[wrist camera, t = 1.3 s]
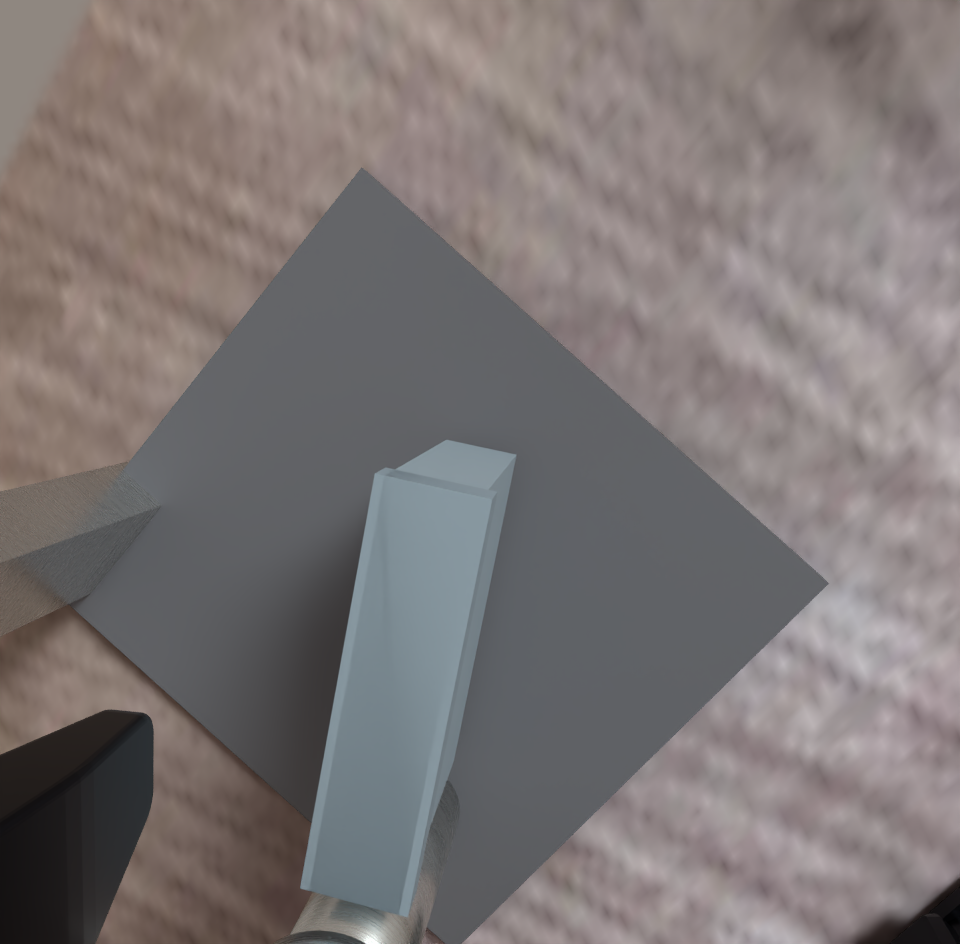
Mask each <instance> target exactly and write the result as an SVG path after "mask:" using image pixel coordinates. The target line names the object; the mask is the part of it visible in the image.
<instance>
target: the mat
mask: <svg viewBox="0 0 960 944" xmlns="http://www.w3.org/2000/svg"><path fill="white" fill-rule="evenodd" d="M445 440H450V441H455V442H460V443H464V444H469V445H474V446H478V447H483V448H488V449H493V450H497V451H502V452H507V453H511V454H516V460H515V465H514V470H513V475H512V480H511V485H510V489H509V494H508V499H507V504H506V509H505V514H504V519H503V524H502V529H501V533H500V538H499V543H498V548H497V553H496V558H495V563H494V568H493V572H492V577H491V582H490V587H489V592H488V597H487V602H486V607H485V611H484V616H483V621H482V626H481V631H480V636H479V641H478V646H477V650H476V655H475V660H474V665H473V670H472V675H471V680H470V685H469V689H468V694H467V699H466V704H465V709H464V714H463V719H462V724H461V729H460V733H459V738H458V743H457V748H456V753H455V758H454V762H453V765H452V767H451V770H450V773H449V776H448V780H449V781H450V783H451V784H452V786H453V787H454V789H455V791H456V793H457V796H458V799H459V805H460V816H459V821H458V825H457V828H456V832H455V835H454V838H453V842H452V845H451V848H450V852H449V855H448V858H447V861H446V865H445V868H444V871H443V875H442V878H441V881H440V885H439V888H438V891H437V895H436V898H435V901H434V905H433V908H432V911H431V914H430V918H429V921H428V924H427V928H428V929H430V930H431V931H432V932H433V933H434V934H435V935H436V936H437V937H438V938H439V939H441V940H442V941H443V942H444V943H445V944H461V943H462V942H463V941H464V940H466V939H467V938H468V937H469V936H470V935H471V934H472V933H473V932H474V931H475V930H476V929H477V928H478V927H479V926H480V925H481V924H482V923H483V922H484V921H485V920H486V919H487V918H488V917H489V916H490V915H491V914H492V913H493V912H494V911H495V910H496V909H497V908H498V907H499V906H500V905H501V904H502V903H503V902H504V901H505V900H506V899H507V898H508V897H509V896H510V895H511V894H512V893H513V892H514V891H516V890H517V889H518V888H519V887H520V886H521V885H522V884H523V883H524V882H525V881H526V880H527V879H528V878H529V877H530V876H531V875H532V874H533V873H534V872H535V871H536V870H537V869H538V868H539V867H540V866H541V865H542V864H543V863H544V862H545V861H546V860H547V859H548V858H549V857H550V856H551V855H552V854H553V853H554V852H555V851H556V850H557V849H558V848H559V847H560V846H561V845H562V844H563V843H564V842H566V841H567V840H568V839H569V838H570V837H571V836H572V835H573V834H574V833H575V832H576V831H577V830H578V829H579V828H580V827H581V826H582V825H583V824H584V823H585V822H586V821H587V820H588V819H589V818H590V817H591V816H592V815H593V814H594V813H595V812H596V811H597V810H598V809H599V808H600V807H601V806H602V805H603V804H604V803H605V802H606V801H607V800H608V799H609V798H610V797H611V796H612V795H613V794H614V793H616V792H617V791H618V790H619V789H620V788H621V787H622V786H623V785H624V784H625V783H626V782H627V781H628V780H629V779H630V778H631V777H632V776H633V775H634V774H635V773H636V772H637V771H638V770H639V769H640V768H641V767H642V766H643V765H644V764H645V763H646V762H647V761H648V760H649V759H650V758H651V757H652V756H653V755H654V754H655V753H656V752H657V751H658V750H659V749H660V748H661V747H662V746H663V745H664V744H665V743H667V742H668V741H669V740H670V739H671V738H672V737H673V736H674V735H675V734H676V733H677V732H678V731H679V730H680V729H681V728H682V727H683V726H684V725H685V724H686V723H687V722H688V721H689V720H690V719H691V718H692V717H693V716H694V715H695V714H696V713H697V712H698V711H699V710H700V709H701V708H702V707H703V706H704V705H705V704H706V703H707V702H708V701H709V700H710V699H711V698H712V697H713V696H714V695H715V694H717V693H718V692H719V691H720V690H721V689H722V688H723V687H724V686H725V685H726V684H727V683H728V682H729V681H730V680H731V679H732V678H733V677H734V676H735V675H736V674H737V673H738V672H739V671H740V670H741V669H742V668H743V667H744V666H745V665H746V664H747V663H748V662H749V661H750V660H751V659H752V658H753V657H754V656H755V655H756V654H757V653H758V652H759V651H760V650H761V649H762V648H763V647H764V646H765V645H767V644H768V643H769V642H770V641H771V640H772V639H773V638H774V637H775V636H776V635H777V634H778V633H779V632H780V631H781V630H782V629H783V628H784V627H785V626H786V625H787V624H788V623H789V622H790V621H791V620H792V619H793V618H794V617H795V616H796V615H797V614H798V613H799V612H800V611H801V610H802V609H803V608H804V607H805V606H806V605H807V604H808V603H809V602H810V601H811V600H812V599H813V598H814V597H815V596H816V595H818V594H819V593H820V592H821V591H822V590H823V589H824V588H825V587H826V586H827V585H828V584H829V583H828V582H827V581H826V580H825V579H824V578H823V577H822V576H821V575H820V574H818V573H817V572H816V571H815V570H814V569H813V568H812V567H811V566H809V565H808V564H807V563H806V562H805V561H804V560H803V559H802V558H800V557H799V556H798V555H797V554H796V553H795V552H794V551H793V550H791V549H790V548H789V547H788V546H787V545H786V544H785V543H784V542H782V541H781V540H780V539H779V538H778V537H777V536H776V535H775V534H773V533H772V532H771V531H770V530H769V529H768V528H767V527H766V526H764V525H763V524H762V523H761V522H760V521H759V520H758V519H757V518H756V517H754V516H753V515H752V514H751V513H750V512H749V511H748V510H747V509H745V508H744V507H743V506H742V505H741V504H740V503H739V502H738V501H736V500H735V499H734V498H733V497H732V496H731V495H730V494H729V493H727V492H726V491H725V490H724V489H723V488H722V487H721V486H720V485H718V484H717V483H716V482H715V481H714V480H713V479H712V478H711V477H709V476H708V475H707V474H706V473H705V472H704V471H703V470H702V469H700V468H699V467H698V466H697V465H696V464H695V463H694V462H693V461H691V460H690V459H689V458H688V457H687V456H686V455H685V454H684V453H683V452H681V451H680V450H679V449H678V448H677V447H676V446H675V445H674V444H672V443H671V442H670V441H669V440H668V439H667V438H666V437H665V436H663V435H662V434H661V433H660V432H659V431H658V430H657V429H656V428H654V427H653V426H652V425H651V424H650V423H649V422H648V421H647V420H645V419H644V418H643V417H642V416H641V415H640V414H639V413H638V412H636V411H635V410H634V409H633V408H632V407H631V406H630V405H629V404H627V403H626V402H625V401H624V400H623V399H622V398H621V397H620V396H618V395H617V394H616V393H615V392H614V391H613V390H612V389H611V388H610V387H608V386H607V385H606V384H605V383H604V382H603V381H602V380H601V379H599V378H598V377H597V376H596V375H595V374H594V373H593V372H592V371H590V370H589V369H588V368H587V367H586V366H585V365H584V364H583V363H581V362H580V361H579V360H578V359H577V358H576V357H575V356H574V355H572V354H571V353H570V352H569V351H568V350H567V349H566V348H565V347H563V346H562V345H561V344H560V343H559V342H558V341H557V340H556V339H554V338H553V337H552V336H551V335H550V334H549V333H548V332H547V331H545V330H544V329H543V328H542V327H541V326H540V325H539V324H538V323H537V322H535V321H534V320H533V319H532V318H531V317H530V316H529V315H528V314H526V313H525V312H524V311H523V310H522V309H521V308H520V307H519V306H517V305H516V304H515V303H514V302H513V301H512V300H511V299H510V298H508V297H507V296H506V295H505V294H504V293H503V292H502V291H501V290H499V289H498V288H497V287H496V286H495V285H494V284H493V283H492V282H490V281H489V280H488V279H487V278H486V277H485V276H484V275H483V274H481V273H480V272H479V271H478V270H477V269H476V268H475V267H474V266H473V265H471V264H470V263H469V262H468V261H467V260H466V259H465V258H464V257H462V256H461V255H460V254H459V253H458V252H457V251H456V250H455V249H453V248H452V247H451V246H450V245H449V244H448V243H447V242H446V241H444V240H443V239H442V238H441V237H440V236H439V235H438V234H437V233H435V232H434V231H433V230H432V229H431V228H430V227H429V226H428V225H426V224H425V223H424V222H423V221H422V220H421V219H420V218H419V217H417V216H416V215H415V214H414V213H413V212H412V211H411V210H410V209H408V208H407V207H406V206H405V205H404V204H403V203H402V202H401V201H400V200H398V199H397V198H396V197H395V196H394V195H393V194H392V193H391V192H389V191H388V190H387V189H386V188H385V187H384V186H383V185H382V184H380V183H379V182H378V181H377V180H376V179H375V178H374V177H373V176H371V175H370V174H369V173H368V172H367V171H365V170H364V169H363V168H361V169H360V170H359V172H358V173H357V174H356V175H355V177H354V178H353V179H352V180H351V182H350V183H349V184H348V186H347V187H346V188H345V189H344V191H343V192H342V193H341V194H340V196H339V197H338V198H337V199H336V201H335V202H334V203H333V205H332V206H331V207H330V208H329V210H328V211H327V212H326V213H325V215H324V216H323V217H322V218H321V220H320V221H319V222H318V224H317V225H316V226H315V227H314V229H313V230H312V231H311V232H310V234H309V235H308V236H307V237H306V239H305V240H304V241H303V243H302V244H301V245H300V246H299V248H298V249H297V250H296V251H295V253H294V254H293V255H292V257H291V258H290V259H289V260H288V262H287V263H286V264H285V265H284V267H283V268H282V269H281V270H280V272H279V273H278V274H277V276H276V277H275V278H274V279H273V281H272V282H271V283H270V284H269V286H268V287H267V288H266V289H265V291H264V292H263V293H262V295H261V296H260V297H259V298H258V300H257V301H256V302H255V303H254V305H253V306H252V307H251V308H250V310H249V311H248V312H247V314H246V315H245V316H244V317H243V319H242V320H241V321H240V322H239V324H238V325H237V326H236V327H235V329H234V330H233V331H232V333H231V334H230V335H229V336H228V338H227V339H226V340H225V341H224V343H223V344H222V345H221V346H220V348H219V349H218V350H217V352H216V353H215V354H214V355H213V357H212V358H211V359H210V360H209V362H208V363H207V364H206V365H205V367H204V368H203V369H202V371H201V372H200V373H199V374H198V376H197V377H196V378H195V379H194V381H193V382H192V383H191V385H190V386H189V387H188V388H187V390H186V391H185V392H184V393H183V395H182V396H181V397H180V398H179V400H178V401H177V402H176V404H175V405H174V406H173V407H172V409H171V410H170V411H169V412H168V414H167V415H166V416H165V417H164V419H163V420H162V421H161V423H160V424H159V425H158V426H157V428H156V429H155V430H154V431H153V433H152V434H151V435H150V436H149V438H148V439H147V440H146V442H145V443H144V444H143V445H142V447H141V448H140V449H139V450H138V452H137V453H136V454H135V455H134V457H133V458H132V459H131V461H130V462H129V463H128V464H127V466H126V467H125V468H124V469H123V471H124V472H125V473H126V474H128V475H129V476H130V477H131V478H132V479H133V480H134V481H135V482H136V483H138V484H139V485H140V486H141V487H142V488H143V489H144V490H145V491H146V492H148V493H149V494H150V495H151V496H152V497H153V498H154V499H155V500H157V501H158V502H159V503H160V504H161V505H162V506H161V508H160V509H159V510H158V511H157V513H156V514H155V515H154V516H153V518H152V519H151V520H150V521H149V523H148V524H147V525H146V526H145V527H144V529H143V530H142V531H141V532H140V534H139V535H138V536H137V537H136V539H135V540H134V541H133V542H132V544H131V545H130V546H129V547H128V549H127V550H126V551H125V552H124V553H123V555H122V556H121V557H120V558H119V560H118V561H117V562H116V563H115V565H114V566H113V567H112V568H111V570H110V571H109V572H108V573H107V574H106V576H105V577H104V578H103V579H102V581H101V582H100V583H99V584H98V586H97V587H96V588H95V589H94V591H93V592H92V593H91V594H89V595H87V596H85V597H83V598H80V599H78V600H76V601H74V602H72V603H70V604H69V605H70V606H71V607H72V608H73V609H74V610H75V611H77V612H78V613H79V614H80V615H81V616H82V617H83V618H84V619H85V620H87V621H88V622H89V623H90V624H91V625H92V626H93V627H94V628H95V629H96V630H98V631H99V632H100V633H101V634H102V635H103V636H104V637H105V638H106V639H108V640H109V641H110V642H111V643H112V644H113V645H114V646H115V647H116V648H118V649H119V650H120V651H121V652H122V653H123V654H124V655H125V656H126V657H128V658H129V659H130V660H131V661H132V662H133V663H134V664H135V665H136V666H138V667H139V668H140V669H141V670H142V671H143V672H144V673H145V674H146V675H148V676H149V677H150V678H151V679H152V680H153V681H154V682H155V683H156V684H158V685H159V686H160V687H161V688H162V689H163V690H164V691H165V692H166V693H168V694H169V695H170V696H171V697H172V698H173V699H174V700H175V701H176V702H178V703H179V704H180V705H181V706H182V707H183V708H184V709H185V710H186V711H188V712H189V713H190V714H191V715H192V716H193V717H194V718H195V719H196V720H198V721H199V722H200V723H201V724H202V725H203V726H204V727H205V728H206V729H207V730H209V731H210V732H211V733H212V734H213V735H214V736H215V737H216V738H217V739H219V740H220V741H221V742H222V743H223V744H224V745H225V746H226V747H227V748H229V749H230V750H231V751H232V752H233V753H234V754H235V755H236V756H237V757H239V758H240V759H241V760H242V761H243V762H244V763H245V764H246V765H247V766H249V767H250V768H251V769H252V770H253V771H254V772H255V773H256V774H257V775H259V776H260V777H261V778H262V779H263V780H264V781H265V782H266V783H267V784H269V785H270V786H271V787H272V788H273V789H274V790H275V791H276V792H277V793H279V794H280V795H281V796H282V797H283V798H284V799H285V800H286V801H287V802H289V803H290V804H291V805H292V806H293V807H294V808H295V809H296V810H297V811H299V812H300V813H301V814H302V815H303V816H304V817H305V818H306V819H307V820H309V821H310V822H311V823H312V819H313V813H314V808H315V802H316V797H317V791H318V786H319V780H320V775H321V769H322V764H323V758H324V752H325V747H326V741H327V736H328V730H329V725H330V719H331V714H332V708H333V703H334V697H335V691H336V686H337V680H338V675H339V669H340V664H341V658H342V653H343V647H344V641H345V636H346V630H347V625H348V619H349V614H350V608H351V603H352V597H353V592H354V586H355V580H356V575H357V569H358V564H359V558H360V553H361V547H362V542H363V536H364V531H365V525H366V519H367V514H368V508H369V503H370V497H371V492H372V486H373V481H374V475H375V473H377V472H378V471H380V470H382V469H384V468H390V469H397V468H398V467H400V466H402V465H404V464H405V463H407V462H409V461H411V460H412V459H414V458H416V457H417V456H419V455H421V454H423V453H424V452H426V451H428V450H430V449H431V448H433V447H435V446H436V445H438V444H440V443H442V442H443V441H445Z"/></svg>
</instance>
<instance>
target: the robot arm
mask: <svg viewBox="0 0 960 944" xmlns="http://www.w3.org/2000/svg"><path fill="white" fill-rule="evenodd" d="M152 797H153V724H152V721H151V719H150V717H149V716H148V715H147V714H144V713H139V712H130V711H120V710H104V711H102V712H99V713H97V714H95V715H92V716H90V717H88V718H85V719H83V720H81V721H78V722H76V723H74V724H71V725H69V726H67V727H64V728H62V729H60V730H57V731H55V732H53V733H50V734H48V735H46V736H43V737H41V738H39V739H36V740H34V741H32V742H29V743H27V744H25V745H22V746H20V747H18V748H15V749H13V750H11V751H8V752H6V753H4V754H1V755H0V944H95V943H96V941H97V938H98V936H99V933H100V931H101V929H102V926H103V924H104V921H105V919H106V917H107V914H108V912H109V909H110V907H111V905H112V902H113V900H114V897H115V895H116V893H117V890H118V888H119V885H120V883H121V880H122V878H123V876H124V873H125V871H126V868H127V866H128V864H129V861H130V859H131V856H132V854H133V852H134V849H135V847H136V844H137V842H138V840H139V837H140V835H141V832H142V830H143V828H144V825H145V823H146V820H147V818H148V815H149V811H150V808H151V803H152ZM890 944H960V887H959V888H958V889H956V890H955V891H954V892H953V893H952V894H951V895H949V896H948V897H947V898H946V899H945V900H944V901H942V902H941V903H940V904H939V905H938V906H937V907H936V908H934V909H933V910H932V911H931V912H930V913H929V914H927V915H923V916H921V917H920V918H919V919H918V920H917V921H915V922H914V923H913V924H912V925H911V926H910V927H909V928H907V929H906V930H905V931H904V932H903V933H902V934H900V935H899V936H898V937H897V938H896V939H895V940H893V941H892V942H891V943H890Z"/></svg>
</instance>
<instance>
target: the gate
mask: <svg viewBox="0 0 960 944" xmlns="http://www.w3.org/2000/svg"><path fill="white" fill-rule="evenodd" d="M515 460H516V454H511V453H507V452H502V451H497V450H493V449H488V448H483V447H478V446H474V445H469V444H464V443H460V442H455V441H450V440H445V441H443V442H442V443H440V444H438V445H436V446H435V447H433V448H431V449H430V450H428V451H426V452H424V453H423V454H421V455H419V456H417V457H416V458H414V459H412V460H411V461H409V462H407V463H405V464H404V465H402V466H400V467H398V468H397V469H390V468H384V469H382V470H380V471H378V472H377V473H375V475H374V481H373V486H372V492H371V497H370V503H369V508H368V514H367V519H366V525H365V531H364V536H363V542H362V547H361V553H360V558H359V564H358V569H357V575H356V580H355V586H354V592H353V597H352V603H351V608H350V614H349V619H348V625H347V630H346V636H345V641H344V647H343V653H342V658H341V664H340V669H339V675H338V680H337V686H336V691H335V697H334V703H333V708H332V714H331V719H330V725H329V730H328V736H327V741H326V747H325V752H324V758H323V764H322V769H321V775H320V780H319V786H318V791H317V797H316V802H315V808H314V813H313V819H312V825H311V830H310V836H309V841H308V847H307V852H306V858H305V863H304V869H303V874H302V880H301V886H300V889H304V890H308V891H312V892H315V893H319V894H323V895H326V896H330V897H334V898H337V899H341V900H345V901H349V902H352V903H356V904H360V905H363V906H367V907H371V908H374V909H378V910H382V911H386V912H389V913H393V914H397V915H400V916H404V917H408V915H409V912H410V909H411V906H412V904H413V901H414V898H415V895H416V892H417V887H418V882H419V877H420V872H421V867H422V862H423V857H424V853H425V848H426V843H427V838H428V833H429V829H430V826H431V823H432V820H433V818H434V815H435V812H436V809H437V807H438V804H439V801H440V798H441V795H442V793H443V790H444V787H445V784H446V781H447V779H448V776H449V773H450V770H451V767H452V765H453V762H454V758H455V753H456V748H457V743H458V738H459V733H460V729H461V724H462V719H463V714H464V709H465V704H466V699H467V694H468V689H469V685H470V680H471V675H472V670H473V665H474V660H475V655H476V650H477V646H478V641H479V636H480V631H481V626H482V621H483V616H484V611H485V607H486V602H487V597H488V592H489V587H490V582H491V577H492V572H493V568H494V563H495V558H496V553H497V548H498V543H499V538H500V533H501V529H502V524H503V519H504V514H505V509H506V504H507V499H508V494H509V489H510V485H511V480H512V475H513V470H514V465H515Z"/></svg>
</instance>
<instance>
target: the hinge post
mask: <svg viewBox="0 0 960 944" xmlns="http://www.w3.org/2000/svg"><path fill="white" fill-rule="evenodd" d="M459 816H460V805H459V799H458V796H457V793H456V791H455V789H454V787H453V786H452V784H451V783H450V781H449V780H448V779H447V781H446V784H445V787H444V790H443V793H442V795H441V798H440V801H439V804H438V807H437V809H436V812H435V815H434V818H433V820H432V823H431V826H430V829H429V833H428V838H427V843H426V848H425V853H424V857H423V862H422V867H421V872H420V877H419V882H418V887H417V892H416V895H415V898H414V901H413V904H412V906H411V909H410V912H409V915H408V917H404V916H400V915H397V914H393V913H389V912H386V911H382V910H378V909H374V908H371V907H367V906H363V905H360V904H356V903H352V902H349V901H345V900H341V899H337V898H334V897H330V896H326V895H323V894H319V893H315V892H312V894H311V896H310V898H309V900H308V902H307V903H306V905H305V907H304V909H303V911H302V913H301V915H300V917H299V919H298V920H297V922H296V924H295V926H294V928H293V930H292V932H291V934H290V935H289V936H286V937H284V938H282V939H280V940H278V941H276V942H275V943H273V944H422V941H423V938H424V934H425V931H426V928H427V924H428V921H429V918H430V914H431V911H432V908H433V905H434V901H435V898H436V895H437V891H438V888H439V885H440V881H441V878H442V875H443V871H444V868H445V865H446V861H447V858H448V855H449V852H450V848H451V845H452V842H453V838H454V835H455V832H456V828H457V825H458V821H459Z"/></svg>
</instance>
